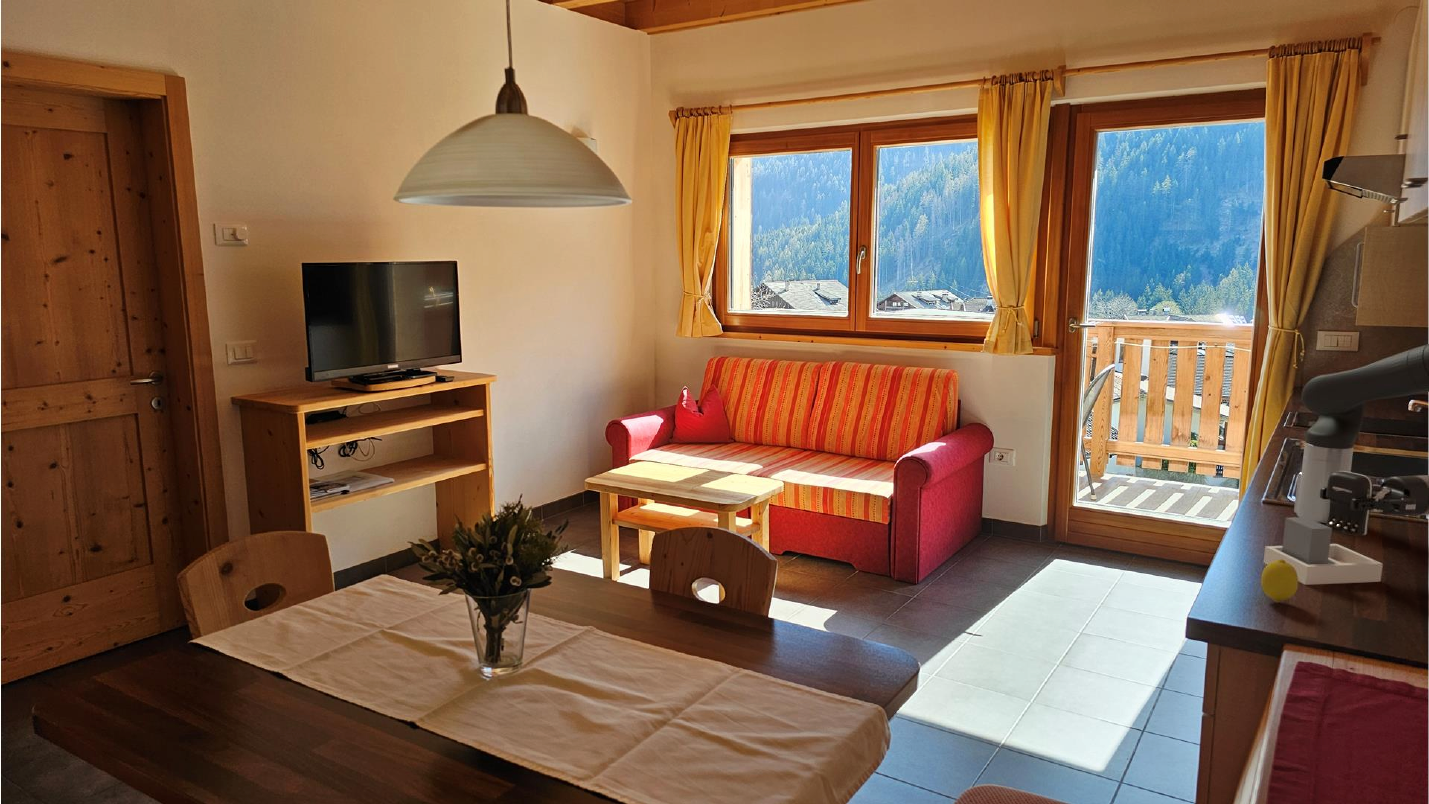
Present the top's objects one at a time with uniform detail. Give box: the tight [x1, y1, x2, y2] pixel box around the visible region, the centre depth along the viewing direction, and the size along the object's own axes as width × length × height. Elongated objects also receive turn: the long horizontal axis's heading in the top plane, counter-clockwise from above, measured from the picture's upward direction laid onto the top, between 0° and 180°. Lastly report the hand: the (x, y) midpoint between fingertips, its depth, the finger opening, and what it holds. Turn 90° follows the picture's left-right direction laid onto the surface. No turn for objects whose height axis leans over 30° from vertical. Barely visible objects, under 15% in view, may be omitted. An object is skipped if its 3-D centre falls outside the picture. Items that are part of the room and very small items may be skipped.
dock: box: [1263, 516, 1384, 586], centre depth 180 cm, size 11×15×10 cm
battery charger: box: [1325, 471, 1373, 536], centre depth 179 cm, size 7×4×11 cm, turn 23°
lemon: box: [1260, 559, 1299, 604], centre depth 166 cm, size 6×6×8 cm
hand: (1336, 499), depth 178 cm, fingers closed on battery charger, 7 cm apart
